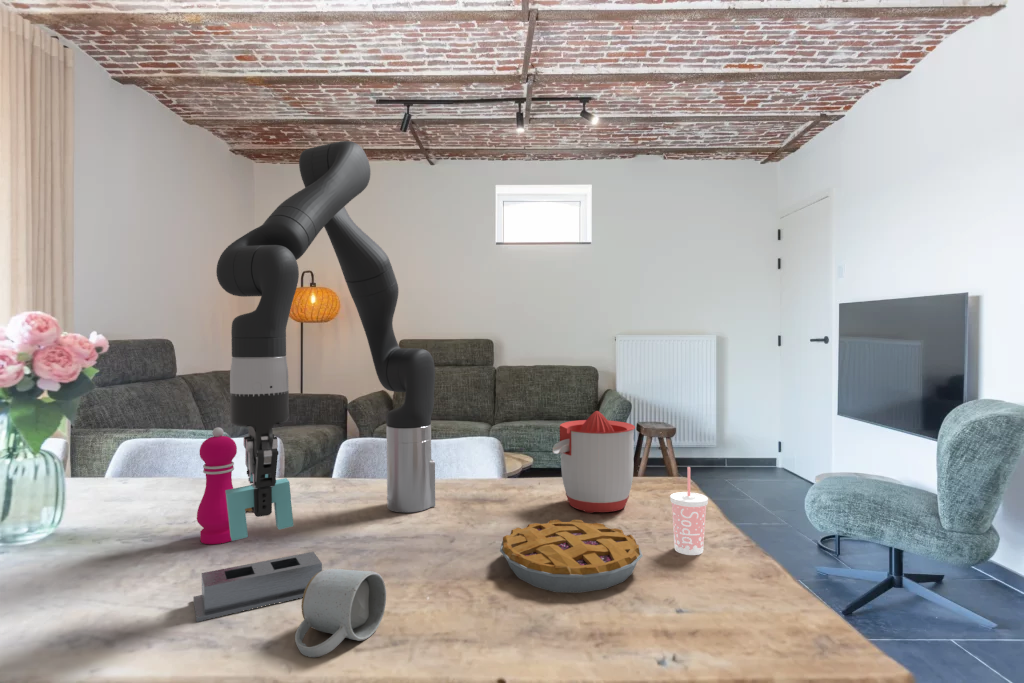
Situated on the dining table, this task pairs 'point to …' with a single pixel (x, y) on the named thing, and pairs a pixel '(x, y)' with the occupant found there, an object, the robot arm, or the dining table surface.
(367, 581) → the ceramic mug
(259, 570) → the grey hollow block
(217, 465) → the pepper mill
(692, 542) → the beverage cup
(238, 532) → the clip
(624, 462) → the citrus juicer
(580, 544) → the pie
